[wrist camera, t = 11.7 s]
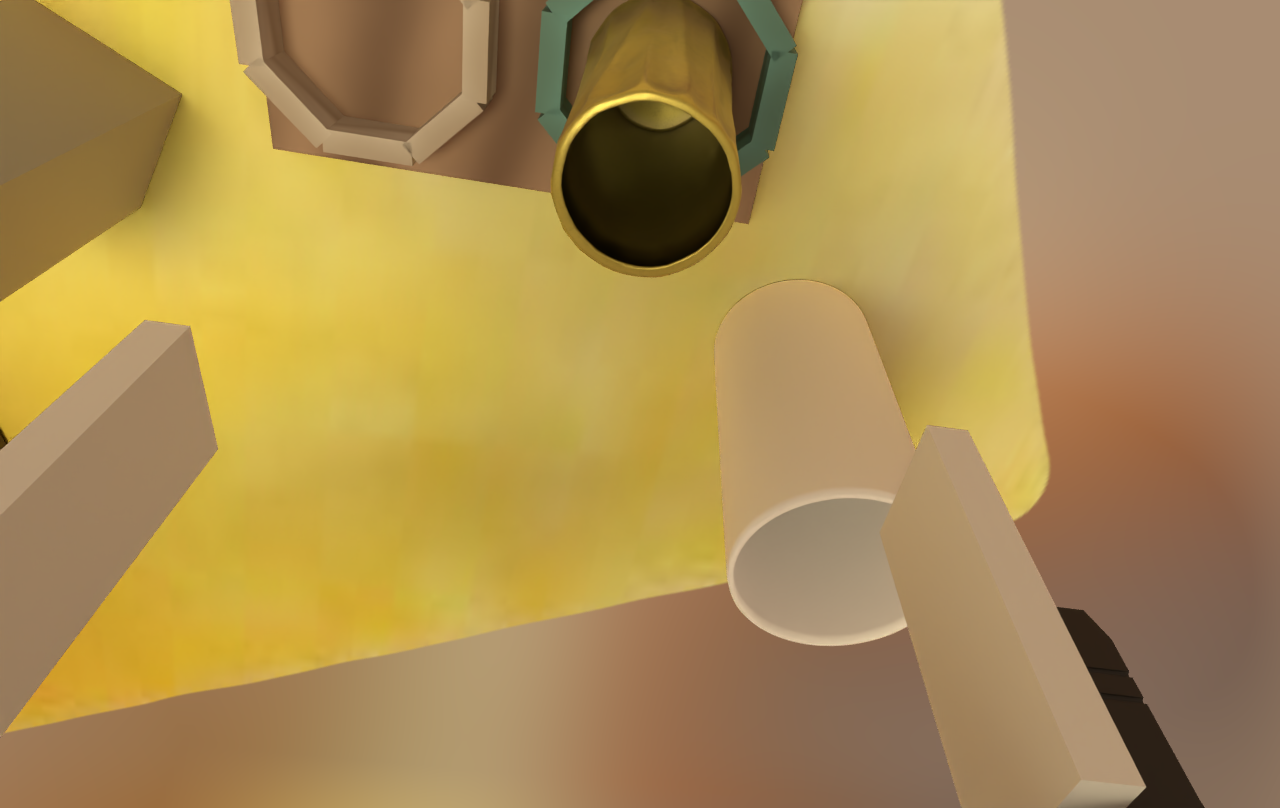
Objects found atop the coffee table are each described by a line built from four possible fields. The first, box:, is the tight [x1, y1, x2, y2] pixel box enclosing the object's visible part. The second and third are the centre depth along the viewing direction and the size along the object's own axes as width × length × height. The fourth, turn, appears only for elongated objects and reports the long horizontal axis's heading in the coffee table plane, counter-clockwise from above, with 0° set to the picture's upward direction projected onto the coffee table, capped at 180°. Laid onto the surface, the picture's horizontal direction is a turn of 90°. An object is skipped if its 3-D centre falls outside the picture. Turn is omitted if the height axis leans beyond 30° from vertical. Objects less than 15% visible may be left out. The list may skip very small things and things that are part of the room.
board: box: [230, 0, 802, 224], centre depth 32 cm, size 22×12×3 cm, turn 82°
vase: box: [551, 0, 742, 277], centre depth 27 cm, size 6×6×14 cm
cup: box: [714, 280, 916, 646], centre depth 35 cm, size 8×8×16 cm
